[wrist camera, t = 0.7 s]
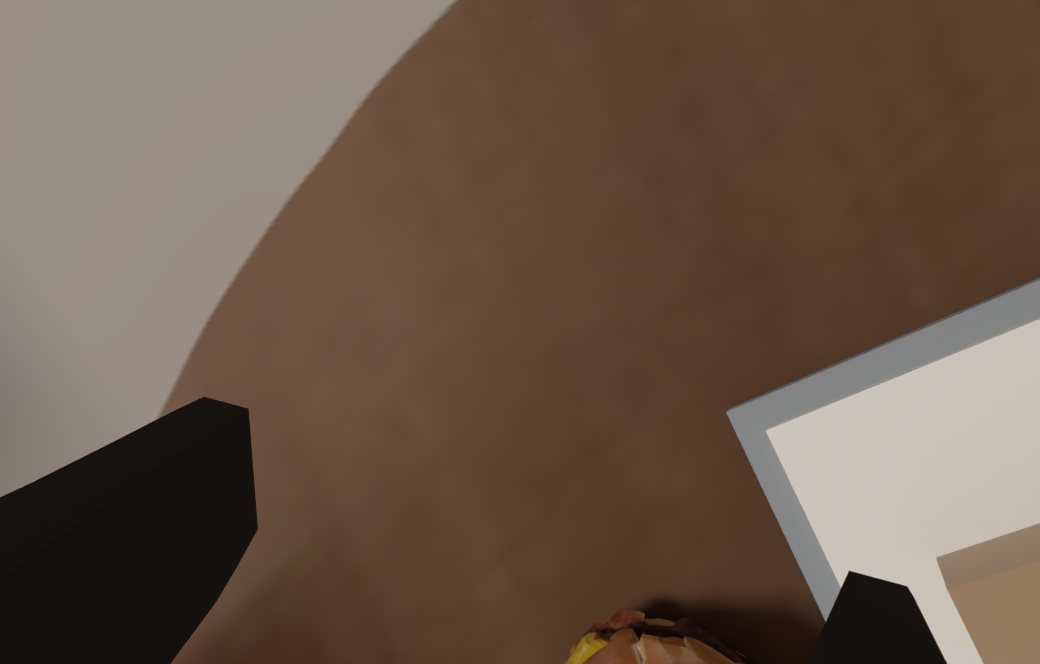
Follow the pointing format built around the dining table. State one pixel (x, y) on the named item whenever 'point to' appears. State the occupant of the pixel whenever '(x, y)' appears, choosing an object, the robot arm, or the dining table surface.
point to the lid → (936, 491)
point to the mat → (848, 379)
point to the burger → (651, 643)
